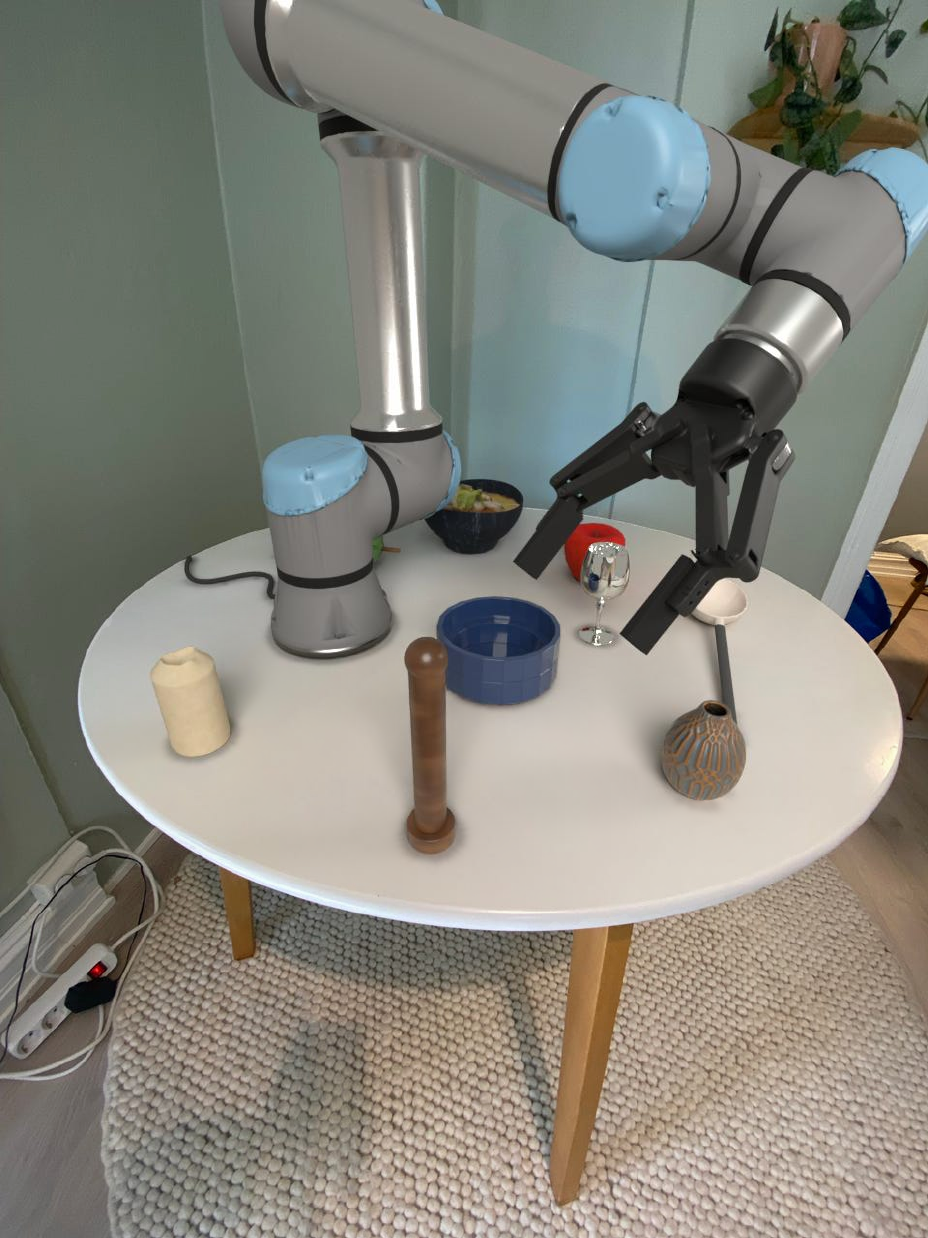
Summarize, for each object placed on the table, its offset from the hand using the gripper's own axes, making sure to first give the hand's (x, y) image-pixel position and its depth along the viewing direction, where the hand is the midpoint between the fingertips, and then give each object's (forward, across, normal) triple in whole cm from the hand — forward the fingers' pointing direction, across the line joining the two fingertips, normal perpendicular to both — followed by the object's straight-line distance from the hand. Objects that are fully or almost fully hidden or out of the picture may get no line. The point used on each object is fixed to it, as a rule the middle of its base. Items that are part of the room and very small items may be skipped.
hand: (571, 604), depth 45 cm
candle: (+32, +21, +8) cm, 39 cm away
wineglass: (0, +20, -27) cm, 33 cm away
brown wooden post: (+22, 0, -4) cm, 22 cm away
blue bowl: (+11, +18, -15) cm, 26 cm away
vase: (+6, -5, -22) cm, 23 cm away
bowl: (0, +53, -25) cm, 58 cm away
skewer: (+15, +57, -9) cm, 59 cm away
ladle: (-6, +9, -34) cm, 36 cm away
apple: (-7, +34, -33) cm, 48 cm away
